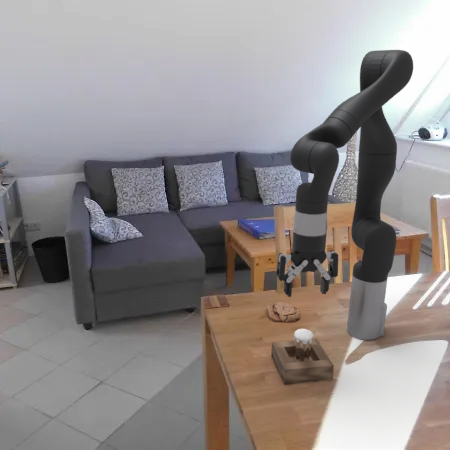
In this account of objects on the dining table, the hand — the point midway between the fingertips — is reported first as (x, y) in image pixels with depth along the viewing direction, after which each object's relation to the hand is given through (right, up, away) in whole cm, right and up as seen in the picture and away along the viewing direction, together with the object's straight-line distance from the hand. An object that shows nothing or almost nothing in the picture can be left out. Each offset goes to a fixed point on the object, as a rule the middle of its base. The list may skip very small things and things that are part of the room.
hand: (305, 294), depth 115 cm
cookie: (-2, -11, +32) cm, 34 cm away
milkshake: (0, -18, +6) cm, 19 cm away
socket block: (0, -19, +6) cm, 20 cm away
